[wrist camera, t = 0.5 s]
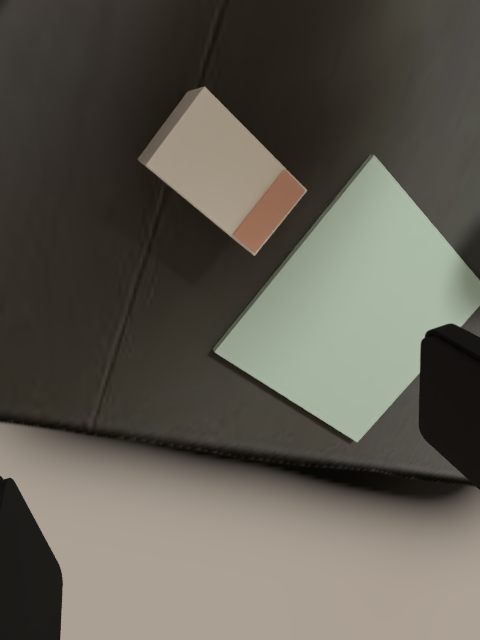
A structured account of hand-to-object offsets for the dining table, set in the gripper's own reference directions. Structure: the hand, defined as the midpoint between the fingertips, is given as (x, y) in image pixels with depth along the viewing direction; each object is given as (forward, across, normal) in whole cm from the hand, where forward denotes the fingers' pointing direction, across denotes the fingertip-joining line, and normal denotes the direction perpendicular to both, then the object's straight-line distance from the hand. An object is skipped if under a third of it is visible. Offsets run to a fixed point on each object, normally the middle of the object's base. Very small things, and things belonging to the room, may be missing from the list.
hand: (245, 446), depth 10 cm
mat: (+25, -18, +13) cm, 33 cm away
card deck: (+25, -6, -2) cm, 26 cm away
